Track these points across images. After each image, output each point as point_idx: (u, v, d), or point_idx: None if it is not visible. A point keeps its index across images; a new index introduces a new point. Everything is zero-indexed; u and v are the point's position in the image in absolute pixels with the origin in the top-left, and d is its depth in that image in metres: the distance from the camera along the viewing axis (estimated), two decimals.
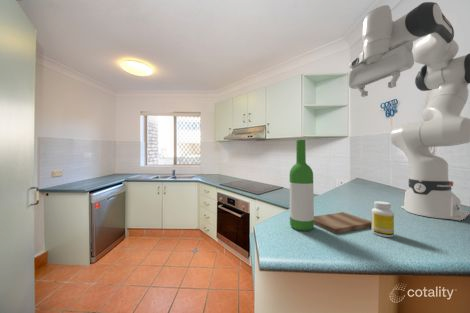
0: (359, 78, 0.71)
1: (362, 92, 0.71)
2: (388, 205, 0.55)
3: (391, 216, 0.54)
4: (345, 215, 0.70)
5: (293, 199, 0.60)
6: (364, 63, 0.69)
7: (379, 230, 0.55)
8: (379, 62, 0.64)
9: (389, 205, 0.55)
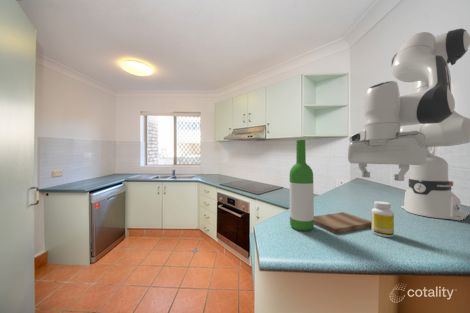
0: (360, 156, 0.61)
1: (363, 173, 0.61)
2: (388, 205, 0.55)
3: (391, 216, 0.54)
4: (345, 215, 0.70)
5: (293, 199, 0.60)
6: (366, 142, 0.59)
7: (379, 230, 0.55)
8: (384, 147, 0.54)
9: (389, 205, 0.55)
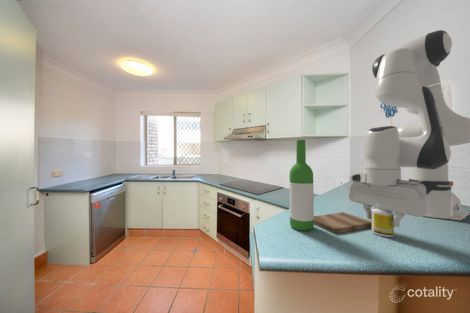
0: (361, 196, 0.61)
1: (368, 214, 0.59)
2: None
3: (391, 216, 0.54)
4: (345, 215, 0.70)
5: (293, 199, 0.60)
6: (367, 183, 0.59)
7: (379, 230, 0.55)
8: (385, 192, 0.54)
9: None
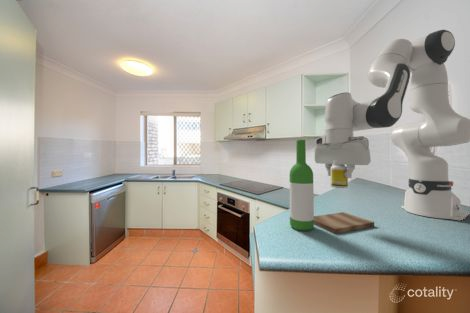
0: (323, 157, 0.70)
1: (329, 172, 0.68)
2: None
3: (345, 170, 0.63)
4: (345, 215, 0.70)
5: (293, 199, 0.60)
6: (327, 145, 0.68)
7: (335, 183, 0.63)
8: (340, 149, 0.63)
9: None
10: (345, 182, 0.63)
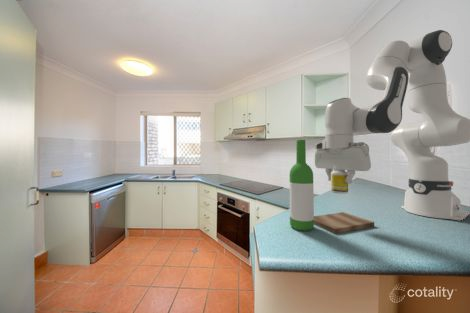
0: (323, 162, 0.70)
1: (329, 177, 0.68)
2: None
3: (345, 175, 0.63)
4: (345, 215, 0.70)
5: (293, 199, 0.60)
6: (327, 150, 0.68)
7: (336, 188, 0.64)
8: (340, 155, 0.63)
9: None
10: (345, 187, 0.63)
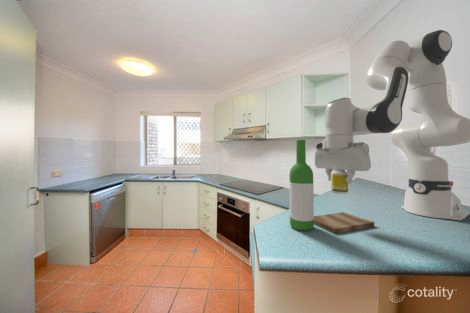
0: (323, 162, 0.70)
1: (329, 177, 0.68)
2: None
3: (345, 175, 0.63)
4: (345, 215, 0.70)
5: (293, 199, 0.60)
6: (327, 150, 0.68)
7: (336, 188, 0.64)
8: (340, 155, 0.63)
9: None
10: (345, 187, 0.63)
